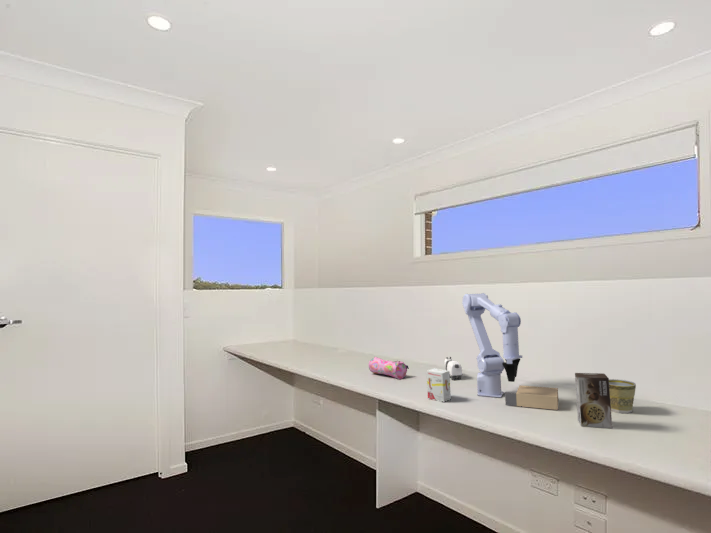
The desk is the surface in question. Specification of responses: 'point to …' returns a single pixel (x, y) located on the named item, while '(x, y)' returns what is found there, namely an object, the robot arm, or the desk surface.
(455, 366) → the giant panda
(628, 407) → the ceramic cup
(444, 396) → the ink box
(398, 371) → the pencil case
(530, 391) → the carton
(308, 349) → the desk surface
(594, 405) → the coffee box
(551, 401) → the carton flap
